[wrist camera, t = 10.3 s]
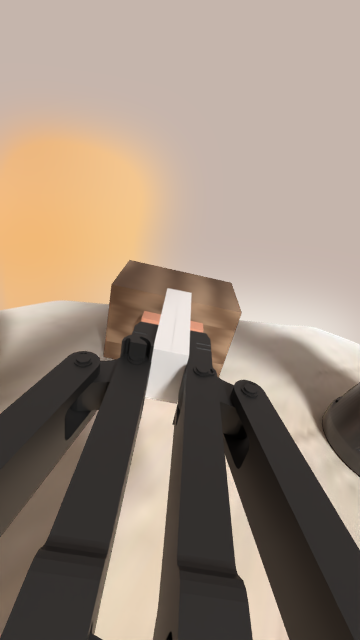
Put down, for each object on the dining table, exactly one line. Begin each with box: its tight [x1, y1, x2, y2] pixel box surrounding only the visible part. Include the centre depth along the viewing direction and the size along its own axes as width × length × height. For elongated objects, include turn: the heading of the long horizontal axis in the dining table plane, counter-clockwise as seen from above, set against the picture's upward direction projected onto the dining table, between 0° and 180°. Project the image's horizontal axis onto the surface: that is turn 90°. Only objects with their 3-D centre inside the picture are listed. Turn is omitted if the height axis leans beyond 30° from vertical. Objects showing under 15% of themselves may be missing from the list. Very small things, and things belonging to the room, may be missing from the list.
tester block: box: [104, 260, 241, 377], centre depth 47 cm, size 18×12×12 cm, turn 87°
